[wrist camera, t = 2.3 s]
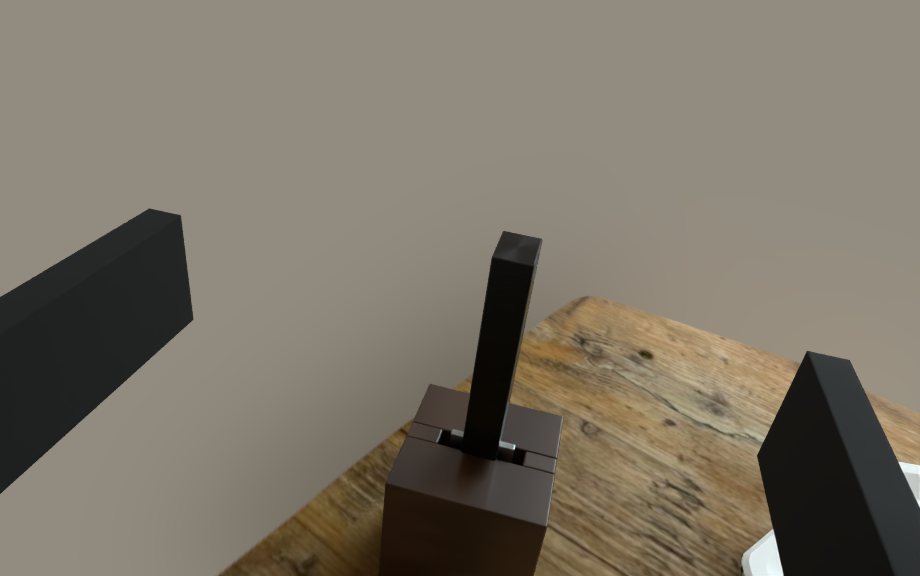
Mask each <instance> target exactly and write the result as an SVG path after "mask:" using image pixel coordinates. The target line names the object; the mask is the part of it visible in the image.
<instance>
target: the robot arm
mask: <svg viewBox="0 0 920 576" xmlns="http://www.w3.org/2000/svg"><path fill="white" fill-rule="evenodd" d="M192 320H193V312H192V305H191V295H190V287H189V279H188V271H187V262H186V255H185V246H184V238H183V230H182V222H181V215H177V214H172V213H168V212H163V211H158V210H153V209H148V210H146V211H144V212H143V213H141V214H140V215H138V216H136V217H134V218H133V219H131V220H129V221H128V222H126V223H124V224H123V225H121V226H119V227H118V228H116V229H114V230H112V231H111V232H109V233H107V234H106V235H104V236H102V237H101V238H99V239H97V240H96V241H94V242H92V243H91V244H89V245H87V246H86V247H84V248H83V249H80V250H79V251H77V252H75V253H74V254H72V255H71V256H69V257H67V258H65V259H64V260H62V261H60V262H59V263H57V264H55V265H54V266H52V267H50V268H49V269H47V270H45V271H43V272H42V273H40V274H39V275H37V276H35V277H33V278H32V279H30V280H29V281H27V282H25V283H23V284H22V285H20V286H18V287H17V288H15V289H13V290H12V291H10V292H8V293H7V294H5V295H3V296H1V297H0V494H1V493H2V492H3V491H4V490H5V489H6V488H7V487H8V486H9V485H10V484H12V483H13V482H14V481H15V480H16V479H17V478H18V477H19V476H21V475H22V474H23V473H24V472H25V471H26V470H27V469H28V468H29V467H30V466H32V465H33V464H34V463H35V462H36V461H37V460H38V459H39V458H41V457H42V456H43V455H44V454H45V453H46V452H47V451H48V450H49V449H51V448H52V447H53V446H54V445H55V444H56V443H57V442H58V441H59V440H60V439H62V438H63V437H64V436H65V435H66V434H67V433H68V432H69V431H70V430H72V429H73V428H74V427H75V426H76V425H77V424H78V423H79V422H80V421H82V419H84V418H85V417H86V416H87V415H88V414H89V413H90V412H91V411H93V410H94V409H95V408H96V407H97V406H98V405H99V404H100V403H101V402H103V401H104V400H105V399H106V398H107V397H108V396H109V395H110V394H111V393H113V392H114V391H115V390H116V389H117V388H118V387H119V386H120V385H121V384H123V383H124V382H125V381H126V380H127V379H128V378H129V377H130V376H131V375H132V374H133V373H135V372H136V371H137V370H138V369H139V368H140V367H141V366H142V365H144V364H145V363H146V362H147V361H148V360H149V359H150V358H151V357H152V356H153V355H155V354H156V353H157V352H158V351H159V350H160V349H161V348H162V347H164V346H165V345H166V344H167V343H168V342H169V341H170V340H171V339H172V338H174V337H175V336H176V335H177V334H178V333H179V332H180V331H181V330H182V329H183V328H184V327H186V326H187V325H188V324H189V323H190V322H191V321H192ZM757 457H758V462H759V466H760V471H761V476H762V480H763V485H764V489H765V494H766V498H767V503H768V507H769V512H770V516H771V521H772V525H773V530H774V535H775V539H776V544H777V548H778V553H779V557H780V562H781V566H782V571H783V575H784V576H920V507H919V504H918V502H917V500H916V498H915V496H914V494H913V492H912V490H911V488H910V486H909V484H908V481H907V479H906V477H905V475H904V473H903V471H902V469H901V467H900V465H899V463H898V460H897V458H896V456H895V454H894V452H893V450H892V448H891V446H890V444H889V442H888V440H887V437H886V435H885V433H884V431H883V429H882V427H881V425H880V423H879V421H878V419H877V416H876V414H875V412H874V410H873V408H872V406H871V404H870V402H869V400H868V398H867V395H866V393H865V391H864V389H863V387H862V385H861V383H860V381H859V379H858V377H857V375H856V373H855V370H854V368H853V366H852V364H851V362H850V360H846V359H842V358H837V357H832V356H828V355H824V354H818V353H814V352H810V351H807V352H806V354H805V356H804V359H803V361H802V363H801V365H800V367H799V369H798V371H797V373H796V375H795V377H794V379H793V381H792V384H791V386H790V388H789V390H788V392H787V394H786V396H785V398H784V400H783V402H782V404H781V407H780V409H779V411H778V413H777V415H776V417H775V419H774V421H773V423H772V425H771V427H770V430H769V432H768V434H767V436H766V438H765V440H764V442H763V444H762V446H761V448H760V450H759V453H758V455H757Z"/></svg>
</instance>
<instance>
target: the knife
mask: <svg viewBox="0 0 920 576" xmlns="http://www.w3.org/2000/svg"><path fill="white" fill-rule="evenodd" d="M541 244H542V239H540V238H535V237H530V236H526V235H521V234H516V233H511V232H506V231H503V233H502V235H501V237H500V240H499V242H498V244H497V247H496V249H495V251H494V254H493V256H492V259H491V265H490V272H489V278H488V284H487V291H486V297H485V303H484V309H483V315H482V322H481V328H480V334H479V340H478V347H477V353H476V359H475V366H474V372H473V378H472V384H471V390H470V397H469V403H468V409H467V415H466V422H465V428H464V432H463V431H459V430H455V429H452V432H451V436H450V443H449V447H451V448H454V449H458V450H461V452H462V453H465V454H469V455H473V456H477V457H480V458H484V459H488V460H492V461H495V460H496V459H497V460H501V461H504V462H508V463H512V459H513V455H514V450H515V445H514V444H510V443H506V442H502V441H501V438H502V434H503V430H504V427H505V422H506V417H507V412H508V407H509V402H510V397H511V392H512V387H513V382H514V378H515V373H516V368H517V363H518V358H519V353H520V348H521V343H522V338H523V333H524V328H525V323H526V318H527V313H528V309H529V303H530V299H531V294H532V289H533V284H534V279H535V274H536V269H537V264H538V259H539V254H540V249H541Z"/></svg>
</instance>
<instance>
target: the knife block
mask: <svg viewBox="0 0 920 576" xmlns="http://www.w3.org/2000/svg"><path fill="white" fill-rule="evenodd" d="M469 397H470V394H469V393H465V392H461V391H457V390H453V389H448V388H445V387H441V386H437V385H433V384H430V385H429V387H428V389H427V391H426V394H425V396H424V398H423V400H422V403H421V405H420V407H419V409H418V411H417V414H416V416H415V418H414V420H413V423H412V425H411V427H410V429H409V432H408V434H407V437H406V438H405V440H404V443H403V445H402V447H401V449H400V452H399V454H398V456H397V458H396V461H395V463H394V465H393V467H392V470H391V472H390V474H389V476H388V479H387V481H386V484H385V497H384V509H383V522H382V534H381V547H380V559H379V572H378V576H534V572H535V569H536V565H537V561H538V558H539V554H540V551H541V547H542V544H543V540H544V536H545V533H546V529H547V525H548V518H549V511H550V504H551V498H552V491H553V484H554V478H555V470H556V464H557V457H558V451H559V444H560V437H561V431H562V424H563V417H562V416H558V415H554V414H550V413H546V412H542V411H538V410H534V409H530V408H526V407H522V406H518V405H514V404H510V403H509V407H508V412H507V417H506V422H505V427H504V430H503V434H502V438H501V441H502V442H506V443H510V444H514V445H515V450H514V455H513V459H512V463H508V462H504V461H501V460H497V459H496V460H495V461H492V460H488V459H484V458H480V457H477V456H473V455H469V454H465V453H462V452H461V450H458V449H454V448H451V447H449V443H450V436H451V432H452V429H455V430H459V431H463V432H464V428H465V422H466V415H467V409H468V403H469Z"/></svg>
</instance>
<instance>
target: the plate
mask: <svg viewBox="0 0 920 576" xmlns="http://www.w3.org/2000/svg"><path fill="white" fill-rule="evenodd" d="M898 463H899V465H900V467H901V469H902V471H903V473H904V475H905V477H906V479H907V481H908V484H909V486H910V488H911V490H912V492H913V494H914V496H915V498H916V500H917V502H918V504H919V507H920V466H919V465H913V464H908V463H902V462H898ZM740 569H741V573H742V576H784V575H783V571H782V566H781V562H780V557H779V553H778V548H777V544H776V539H775V535H774V530H773V529H772V530H771V531H770V532H769V533H768V534H766V535H765V536H764V537H763V538H762V539H760V540H759V541H758V542H757V543H756V544H755V545H753V546H752V547H751V548H750V549H749V550H747V551H746V552H745V553H744V554H743V555H742V558H741V563H740Z"/></svg>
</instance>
